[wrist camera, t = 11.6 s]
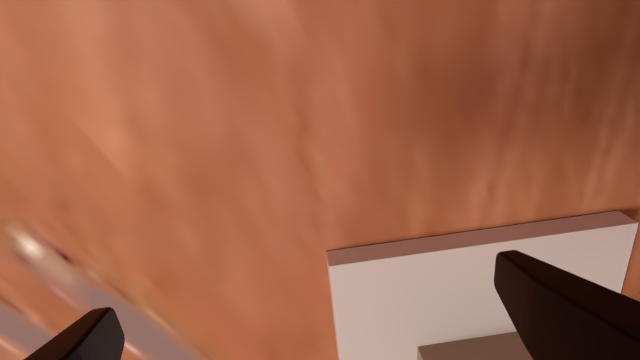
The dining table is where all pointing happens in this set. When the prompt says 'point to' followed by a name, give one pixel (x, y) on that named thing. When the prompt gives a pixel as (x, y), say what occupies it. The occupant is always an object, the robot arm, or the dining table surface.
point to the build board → (460, 287)
